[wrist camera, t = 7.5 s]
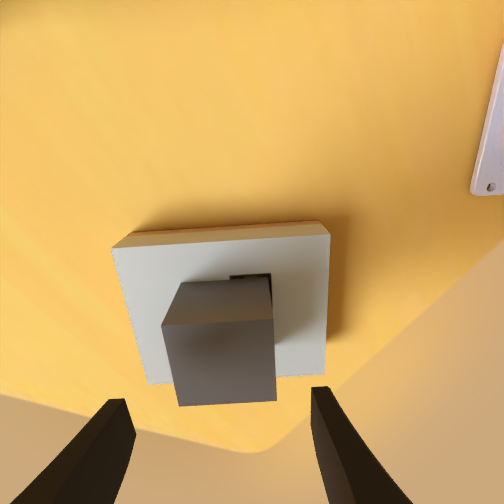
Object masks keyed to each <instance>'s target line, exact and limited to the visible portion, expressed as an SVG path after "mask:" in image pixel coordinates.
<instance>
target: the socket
mask: <svg viewBox="0 0 504 504" xmlns="http://www.w3.org/2000/svg"><path fill="white" fill-rule="evenodd" d="M330 239H331V234H330V233H329V232H328V230H327V229H326V228H325V227H324V226H323V225H322V224H321V222H320V221H319V220H314V221H299V222H283V223H268V224H253V225H238V226H222V227H207V228H192V229H177V230H161V231H146V232H131V233H129V234H128V235H127V236H126V237H124V238H123V239H122V240H121V241H119V242H118V243H117V244H116V245H114V246H113V247H112V248H111V252H112V255H113V259H114V263H115V266H116V270H117V274H118V277H119V281H120V284H121V288H122V292H123V295H124V299H125V303H126V306H127V310H128V314H129V317H130V321H131V324H132V328H133V332H134V335H135V339H136V343H137V346H138V350H139V354H140V357H141V361H142V364H143V368H144V372H145V375H146V379H147V383H148V385H154V384H171V383H174V382H173V378H172V373H171V369H170V364H169V360H168V356H167V351H166V347H165V342H164V338H163V334H162V329H161V324H162V322H163V320H164V318H165V316H166V313H167V311H168V309H169V307H170V305H171V303H172V301H173V298H174V296H175V294H176V292H177V290H178V288H179V286H180V283H183V282H199V281H215V280H230V279H244V275H245V274H257V278H262V277H268V284H269V291H270V298H271V305H272V312H273V321H274V345H275V368H276V377H289V376H306V375H323V374H324V372H325V350H326V328H327V306H328V284H329V261H330Z"/></svg>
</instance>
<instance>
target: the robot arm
mask: <svg viewBox="0 0 504 504" xmlns="http://www.w3.org/2000/svg"><path fill="white" fill-rule="evenodd" d="M489 184H490V188H489V189H488V190H487V186H488V185H489ZM470 192H471V194H473V195H476V196H489V195H504V43H503V46H502V49H501V53H500V58H499V62H498V66H497V71H496V75H495V80H494V84H493V88H492V93H491V97H490V102H489V106H488V110H487V115H486V119H485V123H484V128H483V132H482V137H481V141H480V145H479V150H478V154H477V158H476V163H475V167H474V172H473V176H472V180H471V185H470ZM311 429H312V435H313V440H314V445H315V451H316V456H317V460H318V464H319V468H320V471H321V475H322V478H323V482H324V486H325V490H326V493H327V497H328V501H329V504H413V503H412V502H411V501H410V500H409V498H408V497H407V496H406V495H405V494H404V493H403V491H402V490H401V489H400V488H399V487H398V486H397V484H396V483H395V482H394V481H393V479H392V478H391V477H390V476H389V474H388V473H387V472H386V471H385V469H384V468H383V467H382V466H381V464H380V463H379V461H378V460H377V459H376V458H375V456H374V455H373V453H372V452H371V451H370V449H369V448H368V447H367V445H366V444H365V442H364V441H363V440H362V438H361V437H360V435H359V434H358V433H357V431H356V430H355V428H354V427H353V425H352V424H351V422H350V421H349V419H348V418H347V416H346V415H345V413H344V412H343V410H342V408H341V407H340V405H339V403H338V402H337V400H336V398H335V396H334V395H333V393H332V391H331V389H330V388H329V387H328V386H324V387H311ZM135 438H136V432H135V429H134V426H133V423H132V420H131V417H130V414H129V411H128V408H127V405H126V402H125V399H124V398H123V399H109V400H108V401H107V402H106V403H105V404H104V405H103V406H102V407H101V408H100V409H99V411H98V412H97V413H96V414H95V415H94V416H93V417H92V418H91V419H90V421H89V422H88V423H87V424H86V425H85V426H84V427H83V428H82V429H81V431H80V432H79V433H78V434H77V435H76V436H75V437H74V438H73V439H72V440H71V442H70V443H69V444H68V445H67V446H66V447H65V448H64V449H63V450H62V451H61V452H60V453H59V455H58V456H57V457H56V458H55V459H54V460H53V461H52V462H51V463H50V464H49V465H48V466H47V467H46V468H45V469H44V470H43V471H42V472H41V473H40V474H39V475H38V476H37V477H36V478H35V479H34V480H33V481H32V483H31V484H30V485H29V486H28V487H27V488H26V489H25V490H24V491H23V492H22V493H21V494H19V496H17V497H16V498H15V499H14V500H13V501H12V503H10V504H114V502H115V499H116V497H117V494H118V491H119V489H120V486H121V483H122V481H123V478H124V475H125V473H126V470H127V467H128V464H129V461H130V456H131V453H132V450H133V445H134V442H135Z"/></svg>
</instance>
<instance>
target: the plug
mask: <svg viewBox="0 0 504 504" xmlns="http://www.w3.org/2000/svg"><path fill="white" fill-rule="evenodd" d="M161 329H162V334H163V338H164V342H165V347H166V351H167V356H168V360H169V364H170V369H171V373H172V378H173V382H174V386H175V391H176V395H177V400H178V404H179V406H197V405H214V404H231V403H248V402H265V401H277V392H276V368H275V345H274V321H273V312H272V305H271V298H270V291H269V284H268V277H262V278H257V274H245V275H244V279H230V280H215V281H199V282H183V283H180V286H179V288H178V290H177V292H176V294H175V296H174V298H173V301H172V303H171V305H170V307H169V309H168V311H167V313H166V316H165V318H164V320H163V322H162V324H161Z"/></svg>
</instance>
